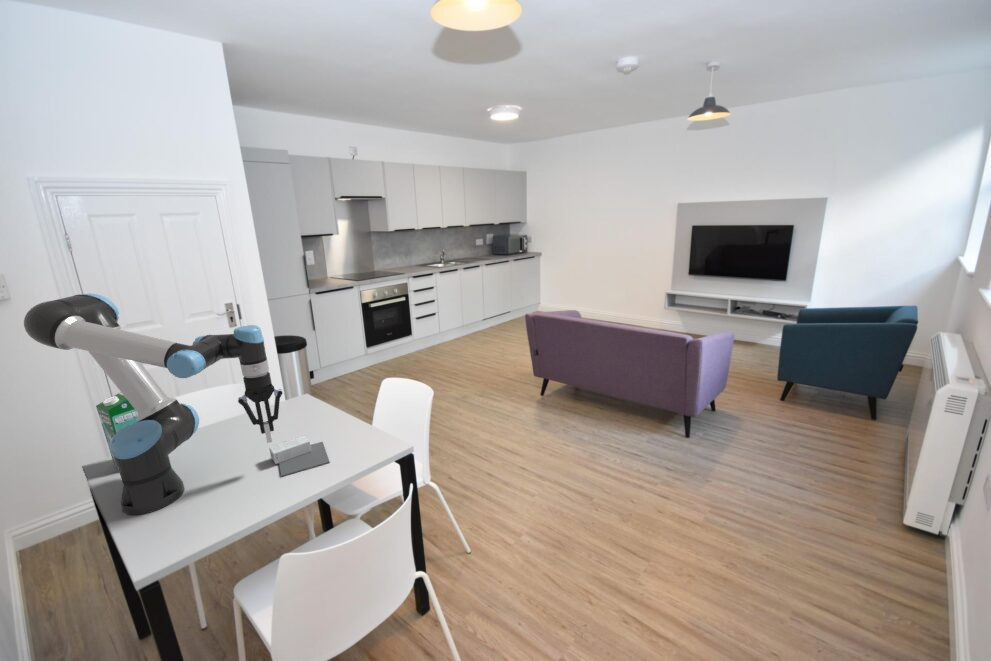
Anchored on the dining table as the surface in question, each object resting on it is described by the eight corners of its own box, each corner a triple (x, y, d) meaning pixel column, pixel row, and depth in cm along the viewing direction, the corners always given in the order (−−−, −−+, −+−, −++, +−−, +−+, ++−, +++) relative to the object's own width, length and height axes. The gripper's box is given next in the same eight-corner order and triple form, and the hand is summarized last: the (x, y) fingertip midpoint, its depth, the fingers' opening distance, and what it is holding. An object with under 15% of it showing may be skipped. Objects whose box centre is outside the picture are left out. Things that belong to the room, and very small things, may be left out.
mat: (281, 477, 140) (281, 475, 140) (278, 454, 154) (277, 453, 154) (329, 463, 147) (329, 461, 147) (322, 442, 161) (322, 441, 161)
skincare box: (275, 464, 146) (311, 451, 154) (273, 453, 145) (309, 441, 153) (270, 457, 151) (306, 445, 158) (268, 446, 150) (304, 434, 157)
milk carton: (113, 464, 152) (93, 399, 145) (143, 452, 159) (125, 389, 153) (126, 470, 148) (106, 403, 141) (156, 457, 155) (138, 393, 149)
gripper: (232, 382, 131) (247, 451, 137) (279, 373, 137) (291, 439, 143) (232, 374, 138) (247, 441, 144) (278, 366, 144) (289, 430, 150)
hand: (269, 440), depth 144 cm, fingers closed
